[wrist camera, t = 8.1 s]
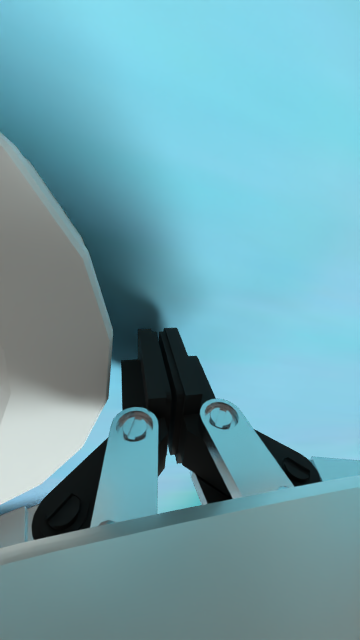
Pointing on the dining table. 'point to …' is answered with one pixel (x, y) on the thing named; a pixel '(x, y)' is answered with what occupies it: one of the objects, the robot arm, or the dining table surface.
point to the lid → (45, 331)
